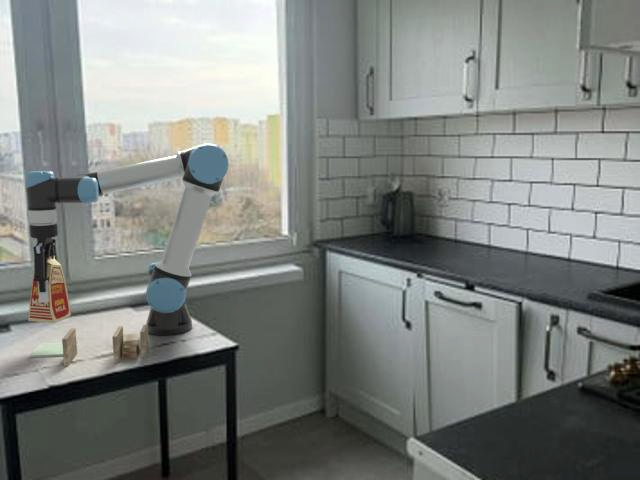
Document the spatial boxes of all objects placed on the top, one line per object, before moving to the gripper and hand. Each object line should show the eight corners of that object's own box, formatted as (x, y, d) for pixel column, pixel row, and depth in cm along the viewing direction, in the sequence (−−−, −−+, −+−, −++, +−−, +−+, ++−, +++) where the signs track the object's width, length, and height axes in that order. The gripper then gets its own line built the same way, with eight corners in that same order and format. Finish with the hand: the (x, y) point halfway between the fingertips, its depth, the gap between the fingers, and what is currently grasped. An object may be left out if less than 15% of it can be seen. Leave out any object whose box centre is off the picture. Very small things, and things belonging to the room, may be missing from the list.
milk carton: (54, 323, 176) (50, 256, 173) (27, 321, 178) (22, 255, 175) (73, 314, 185) (69, 251, 182) (46, 312, 187) (42, 249, 184)
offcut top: (137, 339, 182) (137, 333, 182) (138, 346, 177) (138, 339, 176) (123, 341, 181) (123, 334, 181) (124, 347, 175) (123, 341, 175)
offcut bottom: (140, 352, 183) (139, 345, 182) (136, 359, 177) (136, 352, 177) (126, 352, 182) (126, 346, 182) (122, 360, 176) (122, 353, 176)
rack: (148, 349, 184) (147, 324, 182) (144, 361, 174) (142, 335, 172) (73, 353, 180) (71, 328, 179) (64, 366, 171) (62, 339, 169)
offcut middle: (139, 346, 182) (138, 339, 182) (136, 353, 177) (135, 346, 176) (125, 346, 182) (125, 340, 181) (122, 353, 176) (121, 347, 176)
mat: (77, 343, 189) (77, 341, 189) (68, 355, 179) (68, 353, 179) (40, 345, 188) (40, 343, 188) (29, 357, 177) (29, 355, 177)
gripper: (40, 219, 186) (46, 289, 190) (17, 229, 166) (24, 308, 170) (66, 218, 187) (71, 288, 191) (46, 228, 167) (52, 307, 171)
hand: (49, 298), depth 180 cm, fingers closed on milk carton, 8 cm apart
